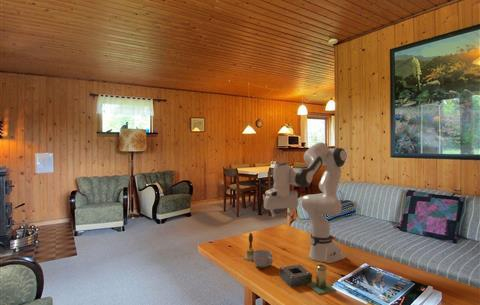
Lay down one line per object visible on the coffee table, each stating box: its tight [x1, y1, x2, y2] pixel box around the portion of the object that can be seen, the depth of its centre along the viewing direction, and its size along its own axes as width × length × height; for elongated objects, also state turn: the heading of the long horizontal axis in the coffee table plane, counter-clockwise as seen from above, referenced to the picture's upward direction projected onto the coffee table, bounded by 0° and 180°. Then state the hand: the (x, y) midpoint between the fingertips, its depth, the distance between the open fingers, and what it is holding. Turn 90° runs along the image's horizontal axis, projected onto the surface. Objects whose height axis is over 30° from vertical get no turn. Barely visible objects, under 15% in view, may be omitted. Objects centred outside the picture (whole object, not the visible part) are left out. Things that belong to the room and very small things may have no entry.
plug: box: [315, 264, 327, 289], centre depth 135 cm, size 5×5×10 cm
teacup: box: [253, 249, 274, 269], centre depth 159 cm, size 14×11×8 cm
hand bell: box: [243, 232, 255, 262], centre depth 171 cm, size 8×8×16 cm
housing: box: [279, 263, 313, 289], centre depth 143 cm, size 12×12×6 cm
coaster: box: [306, 281, 337, 295], centre depth 135 cm, size 10×10×1 cm
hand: (281, 216), depth 153 cm, fingers open, 8 cm apart
